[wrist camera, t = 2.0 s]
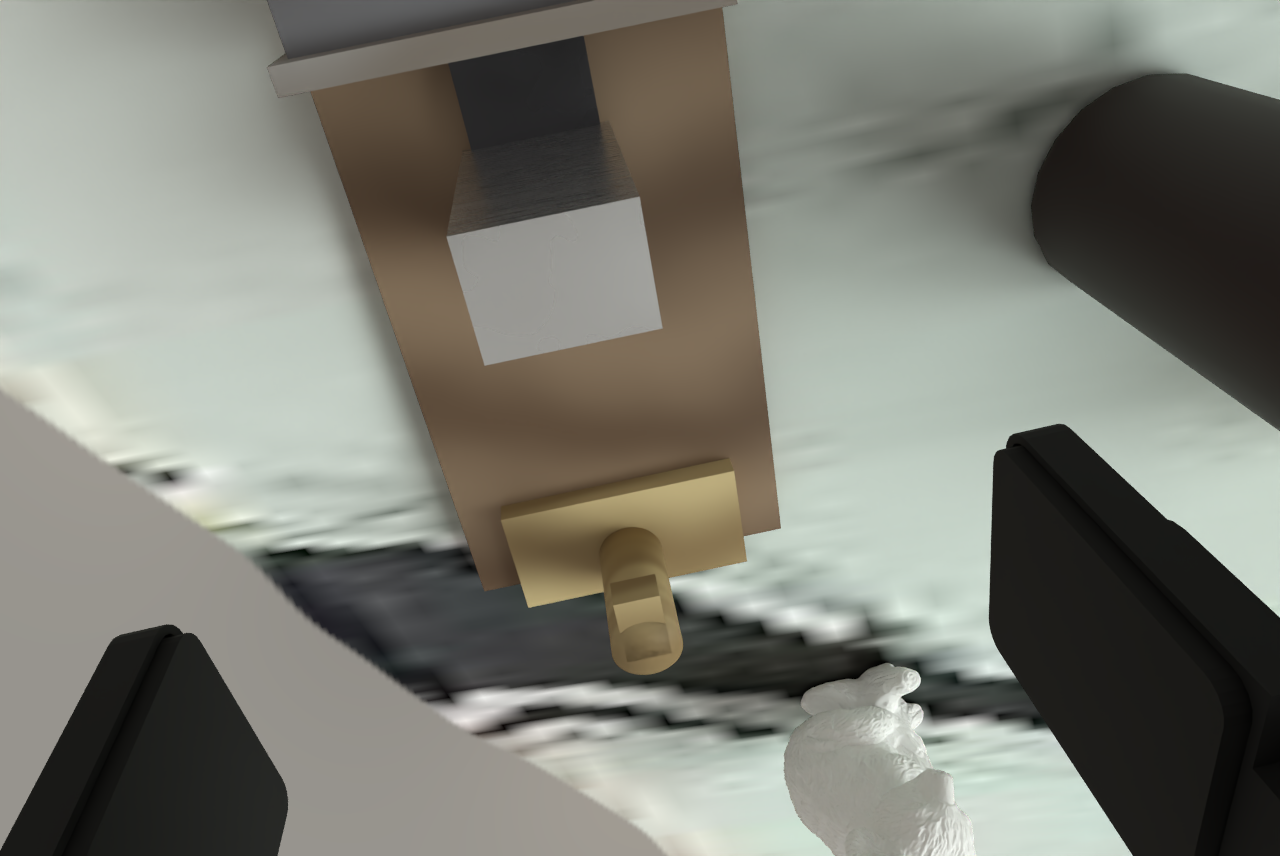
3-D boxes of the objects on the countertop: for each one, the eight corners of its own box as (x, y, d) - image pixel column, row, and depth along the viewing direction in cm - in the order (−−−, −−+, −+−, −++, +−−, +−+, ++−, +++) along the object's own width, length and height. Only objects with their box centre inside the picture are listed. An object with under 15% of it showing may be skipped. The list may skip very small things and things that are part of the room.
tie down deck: (163, -365, 20) (24, -463, 14) (661, -463, 20) (719, -599, 14) (488, 583, 34) (483, 721, 28) (775, 522, 34) (826, 648, 29)
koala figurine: (967, 697, 41) (1120, 971, 30) (850, 777, 43) (957, 1060, 32) (855, 605, 37) (986, 881, 27) (733, 698, 39) (811, 988, 29)
